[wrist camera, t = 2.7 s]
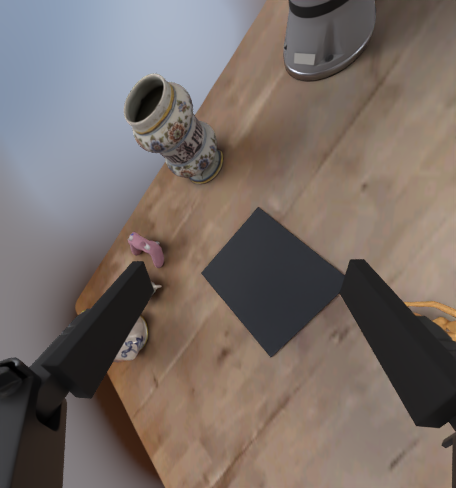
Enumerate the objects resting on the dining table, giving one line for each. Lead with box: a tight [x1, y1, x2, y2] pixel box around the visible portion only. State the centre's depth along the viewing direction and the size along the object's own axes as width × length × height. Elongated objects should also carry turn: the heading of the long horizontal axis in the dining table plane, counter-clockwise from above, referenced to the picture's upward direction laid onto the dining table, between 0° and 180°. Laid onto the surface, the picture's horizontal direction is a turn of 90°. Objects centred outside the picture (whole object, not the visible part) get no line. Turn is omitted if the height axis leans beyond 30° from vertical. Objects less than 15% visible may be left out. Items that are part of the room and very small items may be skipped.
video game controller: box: [128, 232, 164, 268], centre depth 44 cm, size 10×5×7 cm, turn 66°
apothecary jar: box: [124, 74, 223, 184], centre depth 36 cm, size 12×12×18 cm
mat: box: [201, 207, 345, 357], centre depth 34 cm, size 18×20×1 cm
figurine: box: [404, 301, 456, 342], centre depth 20 cm, size 8×6×12 cm
